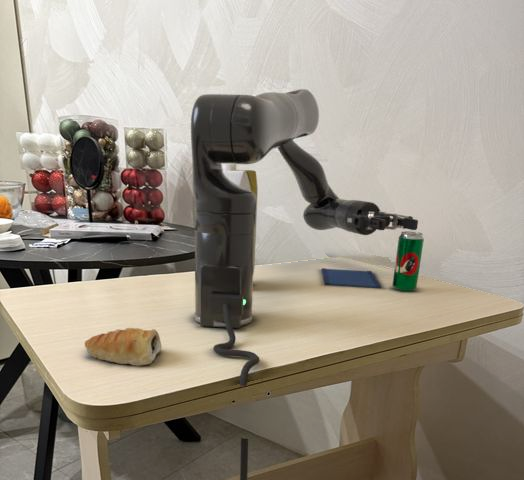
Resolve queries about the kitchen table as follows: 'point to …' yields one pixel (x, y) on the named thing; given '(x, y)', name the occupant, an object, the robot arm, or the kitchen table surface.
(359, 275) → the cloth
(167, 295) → the kitchen table surface
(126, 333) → the pastry
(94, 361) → the kitchen table surface
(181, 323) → the kitchen table surface
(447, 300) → the kitchen table surface
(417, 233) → the soda can
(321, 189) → the robot arm
